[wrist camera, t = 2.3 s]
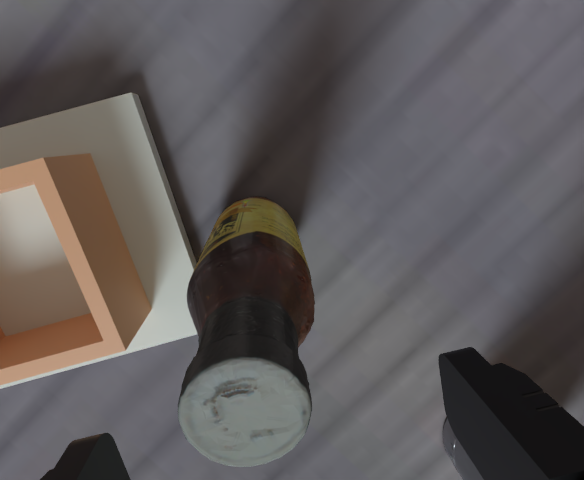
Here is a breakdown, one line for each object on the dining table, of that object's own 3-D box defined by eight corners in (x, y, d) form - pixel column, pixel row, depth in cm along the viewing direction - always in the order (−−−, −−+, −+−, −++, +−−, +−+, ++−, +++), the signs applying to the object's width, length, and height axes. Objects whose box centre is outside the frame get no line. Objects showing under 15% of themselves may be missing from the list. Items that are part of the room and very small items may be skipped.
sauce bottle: (227, 184, 29) (165, 272, 10) (305, 207, 30) (385, 329, 11) (205, 264, 31) (115, 473, 12) (281, 284, 32) (313, 508, 13)
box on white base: (137, 94, 27) (93, 79, 20) (216, 320, 32) (204, 374, 25) (-142, 170, 27) (-289, 182, 20) (-21, 386, 32) (-103, 459, 25)
